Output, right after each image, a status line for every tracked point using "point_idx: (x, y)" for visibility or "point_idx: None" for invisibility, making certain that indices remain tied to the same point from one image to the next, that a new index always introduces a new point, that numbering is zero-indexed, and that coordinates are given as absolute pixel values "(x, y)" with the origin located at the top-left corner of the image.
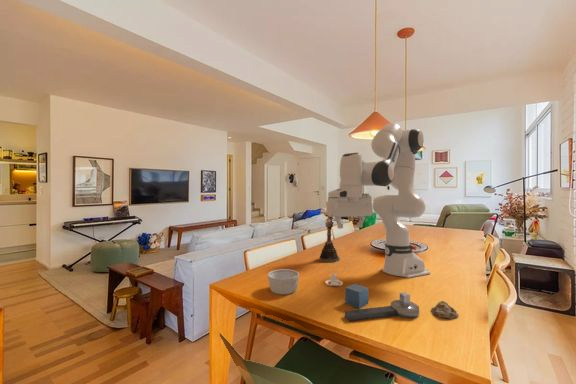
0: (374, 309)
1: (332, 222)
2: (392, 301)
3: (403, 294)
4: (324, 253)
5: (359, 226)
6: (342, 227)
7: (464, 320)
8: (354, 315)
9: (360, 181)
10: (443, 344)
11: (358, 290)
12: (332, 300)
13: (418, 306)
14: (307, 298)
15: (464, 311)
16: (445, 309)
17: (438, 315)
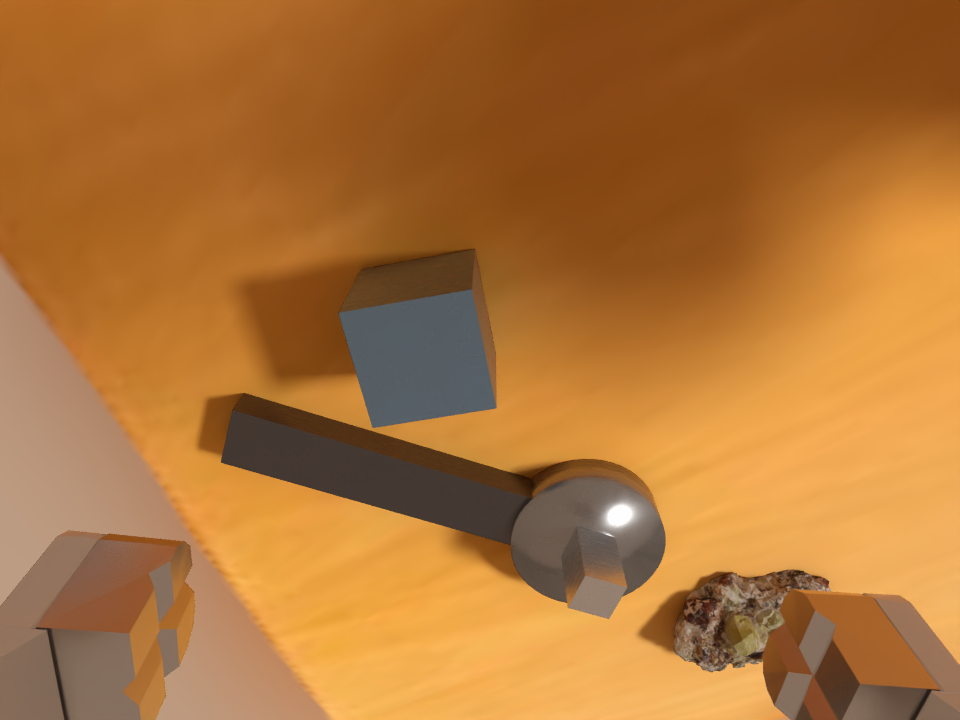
0: (408, 481)
1: None
2: (577, 485)
3: (583, 598)
4: None
5: (769, 693)
6: (162, 651)
7: (731, 680)
8: (253, 470)
9: None
10: (459, 714)
11: (391, 404)
12: (309, 174)
13: (638, 586)
14: (137, 22)
15: None
16: (710, 663)
17: (677, 621)
